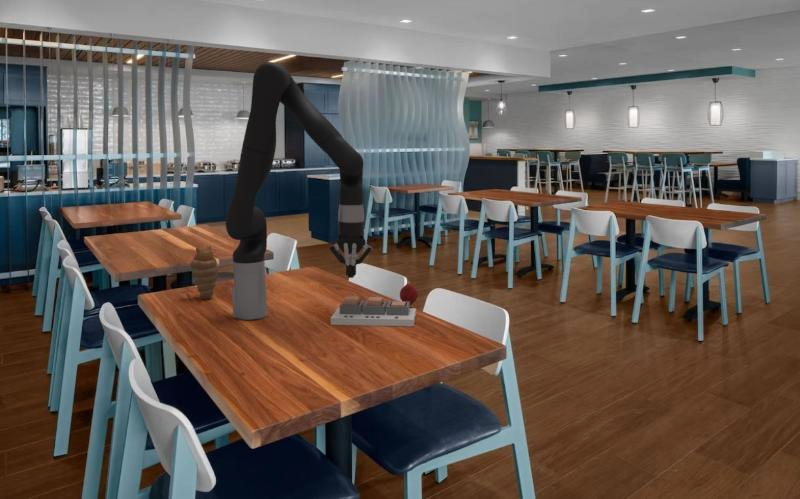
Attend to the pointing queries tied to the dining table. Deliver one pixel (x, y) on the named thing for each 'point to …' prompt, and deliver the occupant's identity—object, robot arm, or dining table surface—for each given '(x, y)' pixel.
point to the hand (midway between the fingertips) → (351, 277)
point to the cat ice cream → (204, 271)
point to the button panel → (374, 314)
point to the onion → (408, 293)
